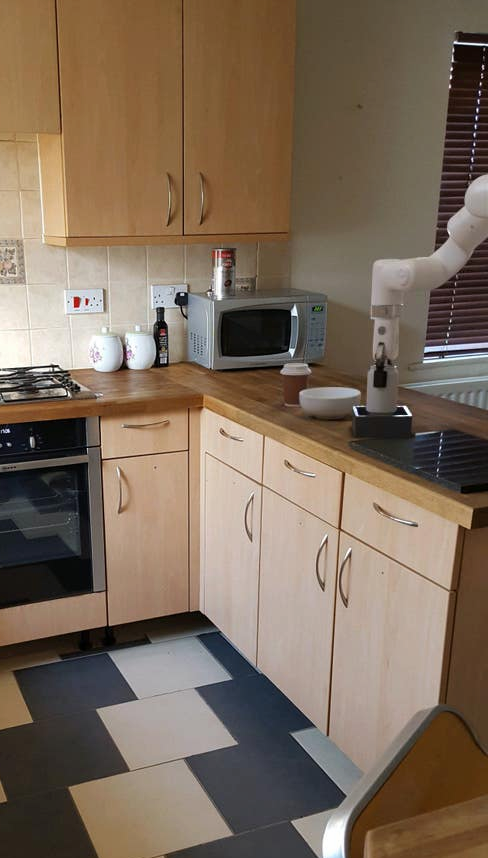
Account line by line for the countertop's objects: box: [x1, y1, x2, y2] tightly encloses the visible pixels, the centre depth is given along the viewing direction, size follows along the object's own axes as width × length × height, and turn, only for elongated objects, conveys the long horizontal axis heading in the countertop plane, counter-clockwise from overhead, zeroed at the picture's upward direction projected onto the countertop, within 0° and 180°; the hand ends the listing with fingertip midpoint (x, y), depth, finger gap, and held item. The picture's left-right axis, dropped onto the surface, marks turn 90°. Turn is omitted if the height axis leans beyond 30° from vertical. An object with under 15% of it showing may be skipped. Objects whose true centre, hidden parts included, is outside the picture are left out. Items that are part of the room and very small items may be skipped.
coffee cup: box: [280, 362, 312, 407], centre depth 261 cm, size 9×9×12 cm
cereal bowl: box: [299, 386, 362, 420], centre depth 243 cm, size 17×17×7 cm
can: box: [365, 364, 400, 416], centre depth 219 cm, size 8×8×12 cm
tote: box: [350, 405, 413, 439], centre depth 222 cm, size 14×14×6 cm
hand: (382, 384), depth 219 cm, fingers closed on can, 7 cm apart
